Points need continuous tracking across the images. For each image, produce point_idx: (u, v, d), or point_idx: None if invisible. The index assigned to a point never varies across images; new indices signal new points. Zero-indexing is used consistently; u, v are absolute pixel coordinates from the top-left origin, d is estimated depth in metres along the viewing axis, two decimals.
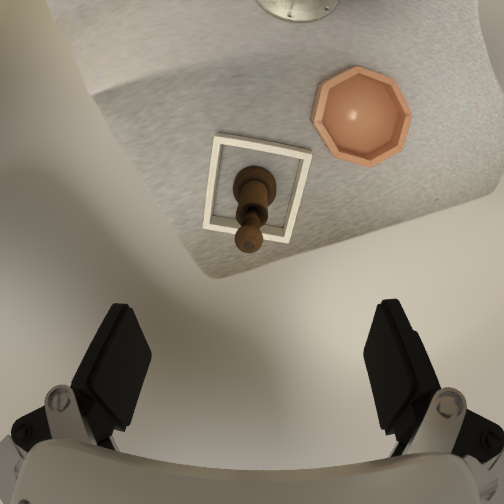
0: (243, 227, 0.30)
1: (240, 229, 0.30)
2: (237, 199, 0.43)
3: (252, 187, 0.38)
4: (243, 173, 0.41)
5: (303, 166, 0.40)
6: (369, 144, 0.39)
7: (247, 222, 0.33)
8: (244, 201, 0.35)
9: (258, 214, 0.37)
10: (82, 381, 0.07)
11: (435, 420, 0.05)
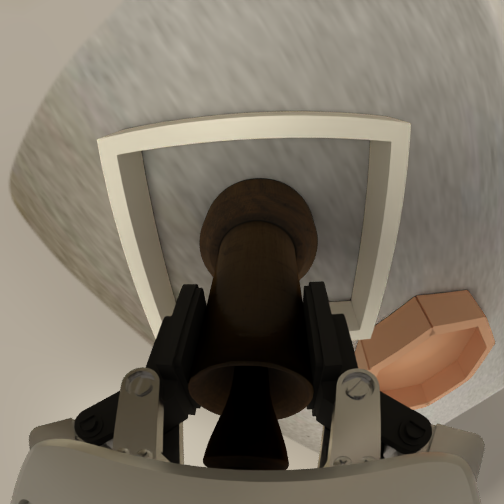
0: None
1: None
2: (220, 213, 0.14)
3: (299, 287, 0.12)
4: (303, 212, 0.14)
5: None
6: (378, 376, 0.24)
7: None
8: (301, 360, 0.08)
9: None
10: (168, 360, 0.08)
11: (348, 406, 0.06)
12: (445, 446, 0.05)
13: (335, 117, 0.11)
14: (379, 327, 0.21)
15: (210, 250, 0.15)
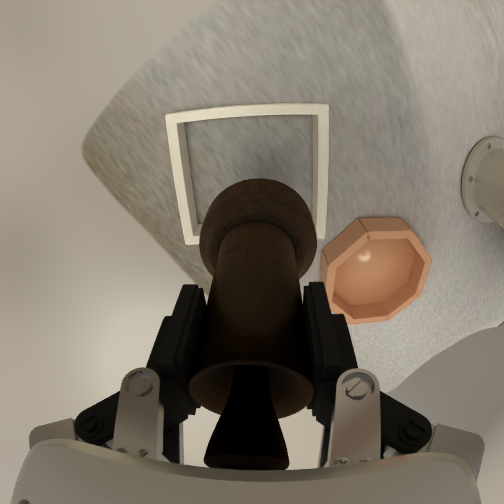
0: None
1: None
2: (219, 213, 0.14)
3: (299, 287, 0.12)
4: (302, 212, 0.14)
5: None
6: (342, 288, 0.36)
7: None
8: (301, 359, 0.08)
9: None
10: (169, 360, 0.08)
11: (348, 406, 0.06)
12: (445, 446, 0.05)
13: (287, 104, 0.23)
14: (334, 240, 0.33)
15: (209, 250, 0.15)
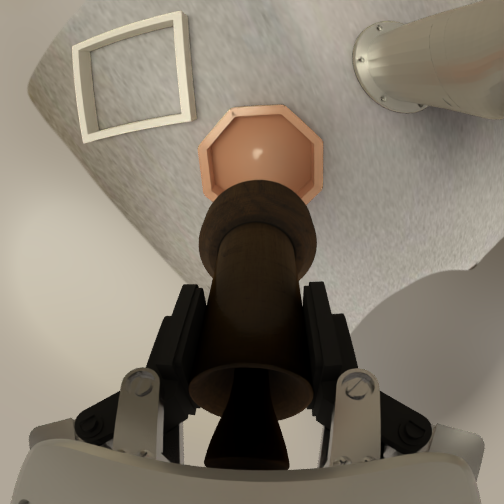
0: None
1: None
2: (219, 215, 0.14)
3: (299, 288, 0.12)
4: (302, 213, 0.14)
5: (173, 116, 0.29)
6: (231, 184, 0.36)
7: None
8: (301, 361, 0.08)
9: None
10: (169, 360, 0.08)
11: (348, 406, 0.06)
12: (444, 446, 0.05)
13: (150, 18, 0.22)
14: None
15: (209, 251, 0.15)
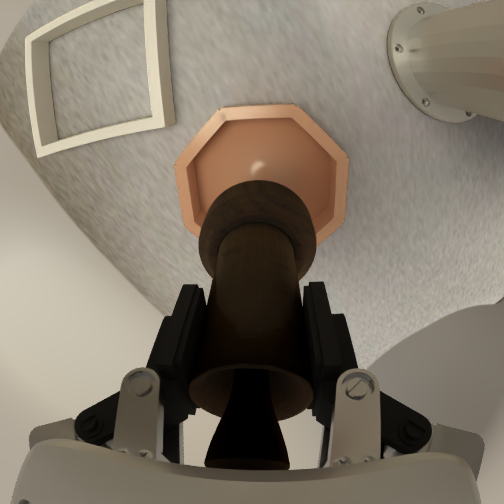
0: None
1: None
2: (218, 215, 0.14)
3: (299, 289, 0.12)
4: (302, 213, 0.14)
5: (141, 121, 0.21)
6: None
7: None
8: (301, 362, 0.08)
9: None
10: (169, 360, 0.08)
11: (348, 406, 0.06)
12: (445, 446, 0.05)
13: None
14: None
15: (209, 252, 0.15)
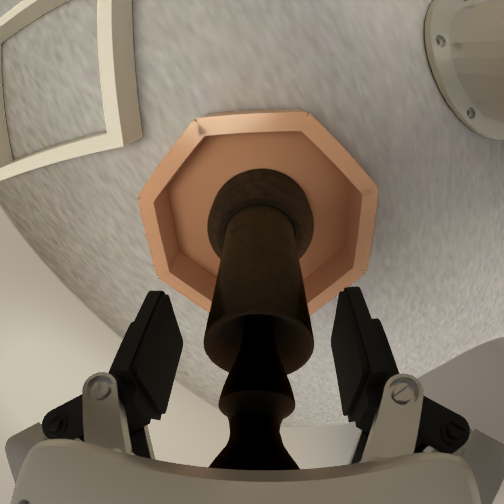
0: None
1: None
2: (226, 198, 0.16)
3: None
4: (301, 197, 0.16)
5: (94, 139, 0.14)
6: (206, 252, 0.21)
7: (275, 419, 0.07)
8: (302, 313, 0.09)
9: None
10: (125, 367, 0.07)
11: (392, 409, 0.06)
12: (477, 451, 0.04)
13: None
14: None
15: (216, 232, 0.17)
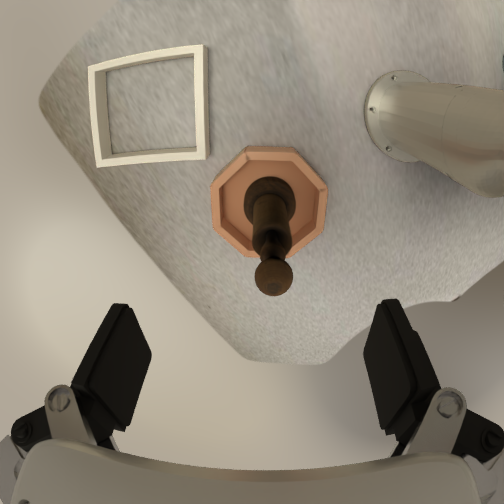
0: (290, 269, 0.22)
1: (288, 267, 0.22)
2: (255, 189, 0.34)
3: (287, 217, 0.31)
4: (290, 191, 0.34)
5: (188, 153, 0.32)
6: (238, 218, 0.39)
7: (279, 255, 0.25)
8: (288, 229, 0.27)
9: None
10: (82, 381, 0.07)
11: (435, 420, 0.05)
12: None
13: (170, 48, 0.25)
14: (224, 167, 0.35)
15: (249, 205, 0.34)
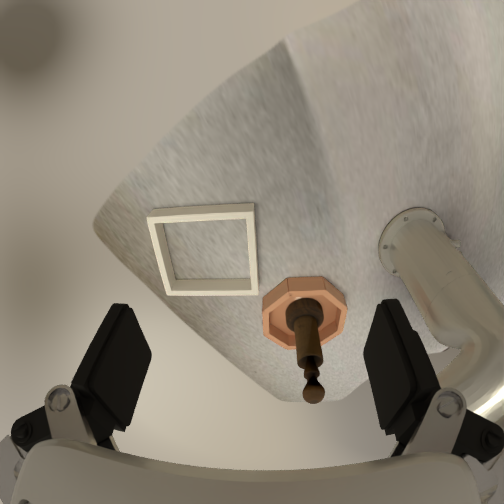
0: (323, 390, 0.34)
1: (322, 390, 0.34)
2: (295, 312, 0.46)
3: None
4: (320, 311, 0.46)
5: (245, 291, 0.44)
6: (280, 323, 0.51)
7: (316, 376, 0.37)
8: (321, 354, 0.39)
9: None
10: (82, 381, 0.07)
11: (435, 420, 0.05)
12: None
13: (224, 213, 0.38)
14: (270, 292, 0.48)
15: (290, 322, 0.47)
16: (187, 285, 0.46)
